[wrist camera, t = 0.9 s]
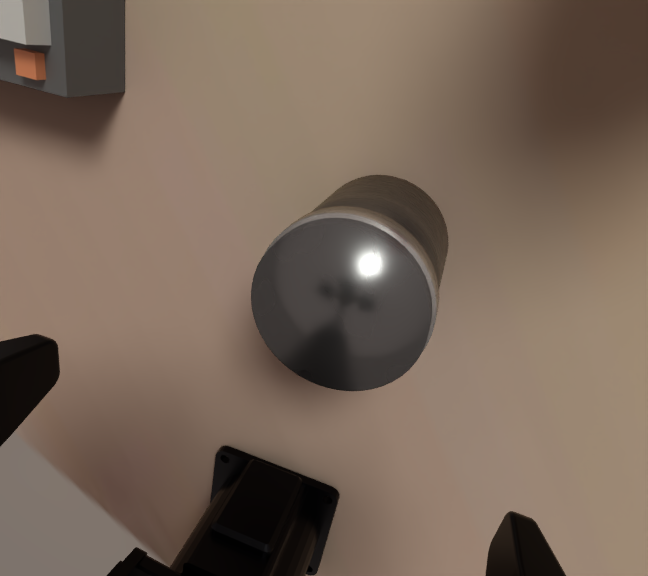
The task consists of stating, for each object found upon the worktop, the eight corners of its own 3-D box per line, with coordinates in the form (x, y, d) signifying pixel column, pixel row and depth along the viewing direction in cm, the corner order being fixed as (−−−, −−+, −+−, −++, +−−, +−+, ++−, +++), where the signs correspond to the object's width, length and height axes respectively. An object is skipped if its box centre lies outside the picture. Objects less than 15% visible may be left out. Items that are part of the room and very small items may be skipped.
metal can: (428, 321, 19) (404, 418, 14) (303, 282, 20) (238, 359, 15) (470, 194, 17) (461, 254, 12) (327, 155, 18) (259, 196, 13)
